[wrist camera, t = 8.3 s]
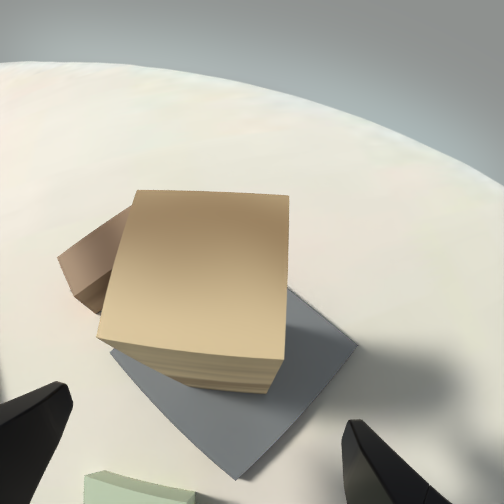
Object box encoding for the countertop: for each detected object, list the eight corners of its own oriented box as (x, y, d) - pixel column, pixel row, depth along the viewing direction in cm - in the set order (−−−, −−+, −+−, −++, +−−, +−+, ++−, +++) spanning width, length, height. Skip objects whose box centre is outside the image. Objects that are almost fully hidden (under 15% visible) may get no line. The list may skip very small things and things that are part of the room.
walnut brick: (151, 228, 24) (138, 200, 21) (175, 259, 23) (163, 233, 20) (79, 279, 22) (56, 257, 19) (97, 314, 21) (73, 296, 18)
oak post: (265, 394, 17) (284, 359, 7) (188, 386, 18) (96, 337, 7) (270, 321, 19) (289, 195, 9) (197, 315, 20) (137, 189, 9)
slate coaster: (354, 347, 19) (358, 345, 19) (236, 478, 15) (235, 480, 15) (229, 246, 23) (228, 240, 22) (114, 355, 19) (109, 352, 18)
